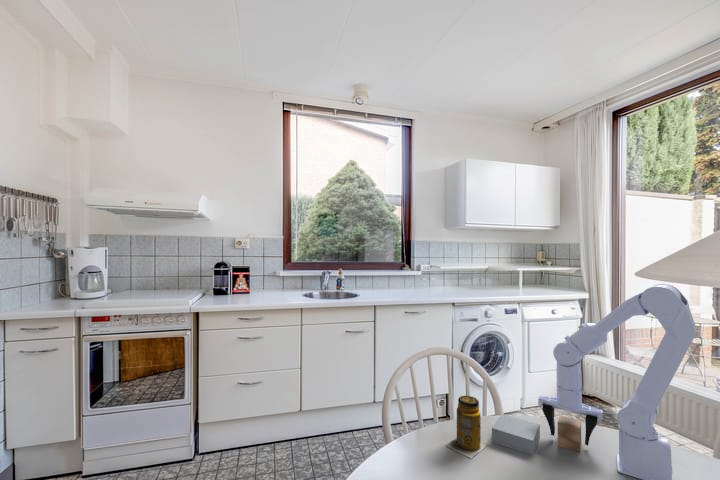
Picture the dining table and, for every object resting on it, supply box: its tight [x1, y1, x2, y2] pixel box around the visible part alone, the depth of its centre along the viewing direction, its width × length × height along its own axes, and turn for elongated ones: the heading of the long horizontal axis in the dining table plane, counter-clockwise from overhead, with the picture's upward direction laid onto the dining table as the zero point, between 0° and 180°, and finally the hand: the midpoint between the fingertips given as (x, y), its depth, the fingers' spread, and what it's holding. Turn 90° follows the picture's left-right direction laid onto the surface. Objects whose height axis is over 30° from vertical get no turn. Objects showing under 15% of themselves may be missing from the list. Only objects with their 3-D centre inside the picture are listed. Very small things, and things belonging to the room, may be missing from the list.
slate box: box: [491, 413, 541, 456], centre depth 93 cm, size 10×10×4 cm
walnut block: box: [557, 415, 582, 453], centre depth 90 cm, size 5×5×6 cm
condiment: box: [445, 395, 488, 459], centre depth 90 cm, size 7×8×12 cm
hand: (569, 438), depth 90 cm, fingers open, 7 cm apart
